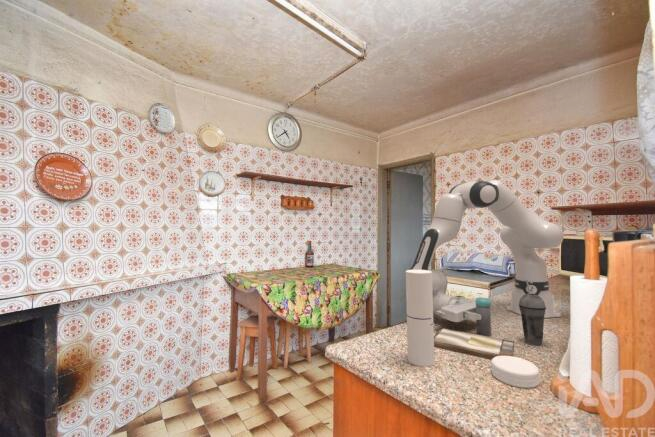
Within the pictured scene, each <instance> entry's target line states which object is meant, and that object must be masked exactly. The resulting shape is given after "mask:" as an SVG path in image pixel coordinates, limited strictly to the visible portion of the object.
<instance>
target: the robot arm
mask: <svg viewBox="0 0 655 437" xmlns="http://www.w3.org/2000/svg"><path fill="white" fill-rule="evenodd" d="M484 208H488V210H490V212H491V213H492V215H494V216H495V219H497V220H498V221H499V223H500V224H501V225H503V227H502V228H501V229H500V233H499V234H500V235H499V236H500V240H501V241H502V242H503V243H504V244H505V245H506V246H507V248H508V249H509V250H510V251H509V252H511V255H512V257H513V261H514V268H515V278H514V287H515V288H514V289H513V290H512V291H511V293H510V297H511V298H510V302H511V303H510V305H508V306H506V310H507V311H509V312H514V313H515V314H518V315H521V312H520V308H519V301H520V299H521V297H522V296H523V295H525V294H528V289H527V283H526V280H528V284H529V290H530V293H531V294H536V295H538V296H539V297H541V298H542V299H543V301H544V303H545V307H546V309H545V315H544V319H545V318H546V319H548V318H549V319H550V318H560V317H562V316H561V313H560V312H559V311H558V310H556V309H555V297H554V295H553V293H552V292H550V291H549V290H550V282H549V280H548V272H547V271H548V267H547V266H548V265H547V263H546V261H545V260H544V259H543V258H541V257H540V256H539V255H538V253H537V252H536V249H541V250H542V249H543V250H546V249H552V248H557V247H559V246H560V245H561V244H562V243H563V241H564V237H565V236H564V233H565V232H564V231H563V229H562V227H561V226H560V225H558V224H557V223H553V222H550V221H548V220H545V219H543V218H542V217H541V216H538V215H537V214H536V213H534V212H532V211H531V210H530V209H528V208H527V206H525V205H524V204H523V203H522V201H521V199H519V197H517V195H516V194H515V192H513V191H512V189H510V188H509V187H508V186H507V185H506V184H505V183H503V182H502V181H500V180H498V179H492V180H489V181H485V180H479V181H478V180H477V181H469V182H465V183H464V182H463V183H459V184H456V185H454V186H453V187H452V188H451V189H450V191H449V192H448V193H444V194H443V195H441V196H440V198H439V199H438V202H437V205H436V207H435V209H434V213H433V216H432V220H431V222H430V223H431V224H430V225H429V228H428V229H427V231H426V232H425V233H424V235H423V236H422V238H421V241H420V245H419V247H418V250H417V253H416V256H415V258H414V262H413V264H412V266H411V267H410V268H409V270H428V271H432V291H433V315H437V316H438V317H440V318H442V319H445V320H448V321H450V322H453V323H460V322H463V321H465V320H468V319H469V320H476V319H477V320H481V319H483V315H482V314H479V313H476V300H475V299H471V298H467V297H466V296H465V295H464V296H463V295H451V294H447V288H448V278H447V276H446V274H445V273H444V272H443V271H442V270H440V269H434V268H433V269H432V268H430V267H431V265H432V264H431V263H432V262H433V259H434V256H435V254H436V250H437V249H438V248H439V247H440V246H441V245H443V244H446V243H448V242H449V243H450V242H451V241H453V240H454V239H456V238H457V237H458V235H459V233H460V230H461V226H462V221H463V215H464V213H465V211H466V210H467V209H484ZM490 314H491V315H492V311H491V310H490Z"/></svg>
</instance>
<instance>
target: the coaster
mask: <svg viewBox="0 0 655 437" xmlns="http://www.w3.org/2000/svg"><path fill="white" fill-rule="evenodd" d="M490 363H491V370H490V371H491V373H492V375H493V377H494V378H495V379H497V380H499V381H500V382H502V383H504V384H506V385H510V386H512V387H517V388H522V389H532V388H536V387H538V386H539V384H540V370H539V368H538V366H536V365H535V364H534V363H532V362H531V361H529V360H527V359H524V358H520V357H517V356H496V357H494V358H493V359H492V360H490Z"/></svg>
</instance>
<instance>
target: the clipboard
mask: <svg viewBox="0 0 655 437" xmlns="http://www.w3.org/2000/svg"><path fill="white" fill-rule="evenodd" d="M514 346H515V341H514V340H509V339H504V338H498V337H492V336H482V335H478V334H477V333H470V332H466V331H465V332H464V331H459V330H454V329H448V328H443V327H440V329H438V331H437V332H436V333H434V348H438V349H442V350H443V349H444V350H447V351H451V352H457V353H461V354H464V355H470V356H474V357H479V358H484V359H488V360H490V361H492V359H493V358H494V357H496V356H513V355H514V348H515V347H514ZM513 357H514V356H513Z"/></svg>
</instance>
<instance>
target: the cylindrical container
mask: <svg viewBox="0 0 655 437" xmlns="http://www.w3.org/2000/svg"><path fill="white" fill-rule="evenodd" d="M405 294H406V296H405V299H406V328H407V329H406V333H407V334H406V336H407V337H406V338H407V339H406V340H407V341H406V342H407V343H406V344H407V345H406V346H407V361H408V362H409V363H410V364H412V365H413V366H418V367H424V368H425V367H431V366H434V364H435V347H434V335H435V333H434V331H435V330H434V314H433V291H432V271H428V270H410V269H407V270H405Z"/></svg>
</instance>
